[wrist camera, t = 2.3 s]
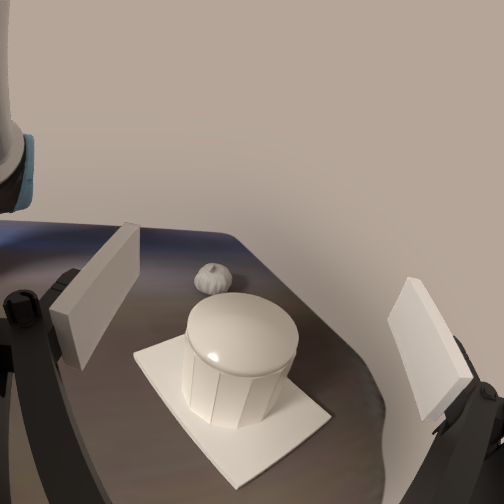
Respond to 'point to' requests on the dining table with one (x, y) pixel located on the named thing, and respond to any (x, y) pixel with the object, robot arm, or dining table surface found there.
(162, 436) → the dining table surface
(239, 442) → the white mat
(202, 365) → the white container
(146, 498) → the dining table surface
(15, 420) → the dining table surface
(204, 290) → the garlic
